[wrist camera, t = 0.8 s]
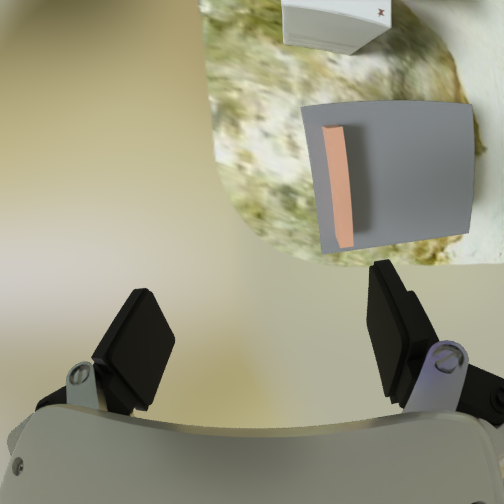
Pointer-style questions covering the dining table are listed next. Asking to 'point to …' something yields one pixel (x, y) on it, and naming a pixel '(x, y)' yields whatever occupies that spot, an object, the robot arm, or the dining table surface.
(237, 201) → the dining table surface
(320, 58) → the dining table surface
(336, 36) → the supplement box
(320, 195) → the lid
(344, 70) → the dining table surface
